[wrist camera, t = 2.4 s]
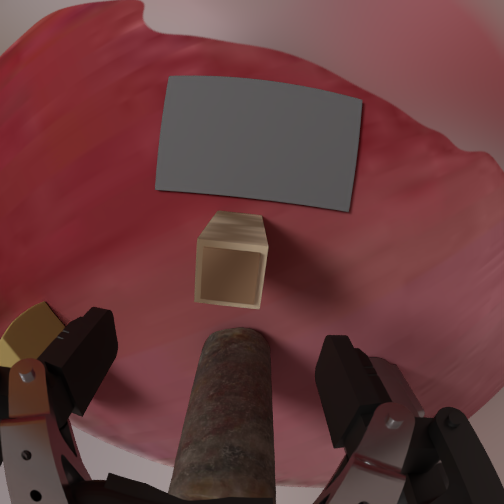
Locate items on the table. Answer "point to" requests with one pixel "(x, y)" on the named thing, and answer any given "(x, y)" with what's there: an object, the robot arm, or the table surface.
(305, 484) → the table surface
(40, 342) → the cheese
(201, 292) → the block
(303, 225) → the table surface
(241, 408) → the brown rough cylinder
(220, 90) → the mat
